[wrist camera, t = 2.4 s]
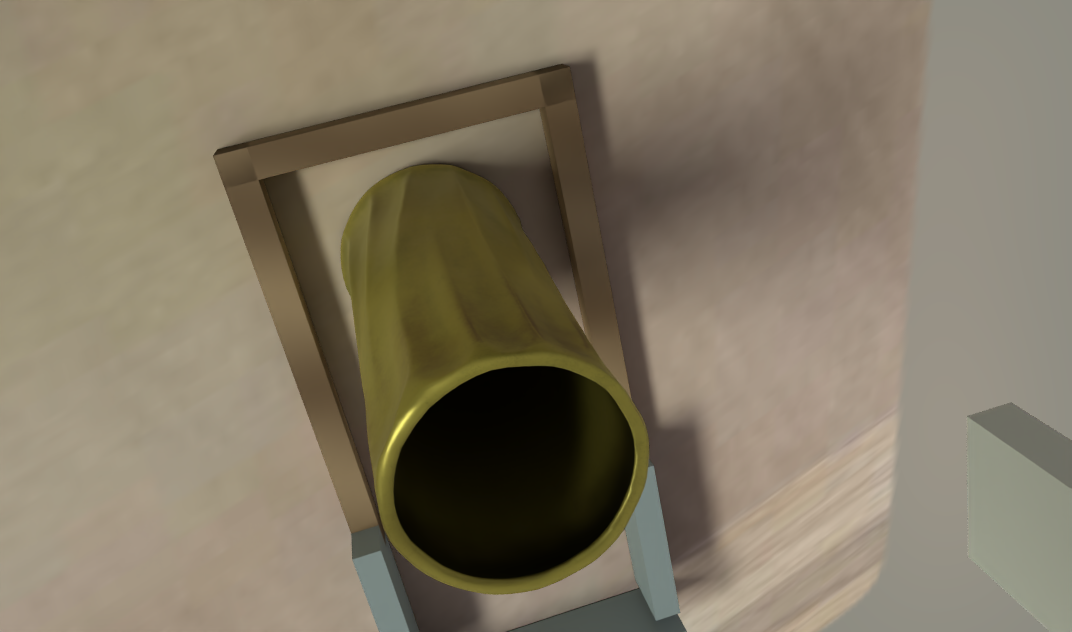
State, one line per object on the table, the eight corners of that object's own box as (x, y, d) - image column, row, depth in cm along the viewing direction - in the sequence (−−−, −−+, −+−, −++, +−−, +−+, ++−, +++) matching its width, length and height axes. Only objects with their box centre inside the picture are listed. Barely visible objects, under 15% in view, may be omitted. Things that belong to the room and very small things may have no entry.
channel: (216, 149, 26) (213, 155, 25) (562, 63, 27) (569, 67, 27) (358, 539, 32) (359, 555, 31) (635, 453, 34) (644, 466, 33)
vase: (527, 163, 28) (693, 323, 16) (518, 335, 31) (656, 601, 18) (338, 161, 27) (345, 333, 14) (342, 340, 29) (352, 632, 16)
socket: (350, 517, 32) (352, 568, 29) (631, 431, 33) (658, 473, 30) (410, 683, 35) (417, 743, 33) (663, 599, 37) (690, 650, 34)
